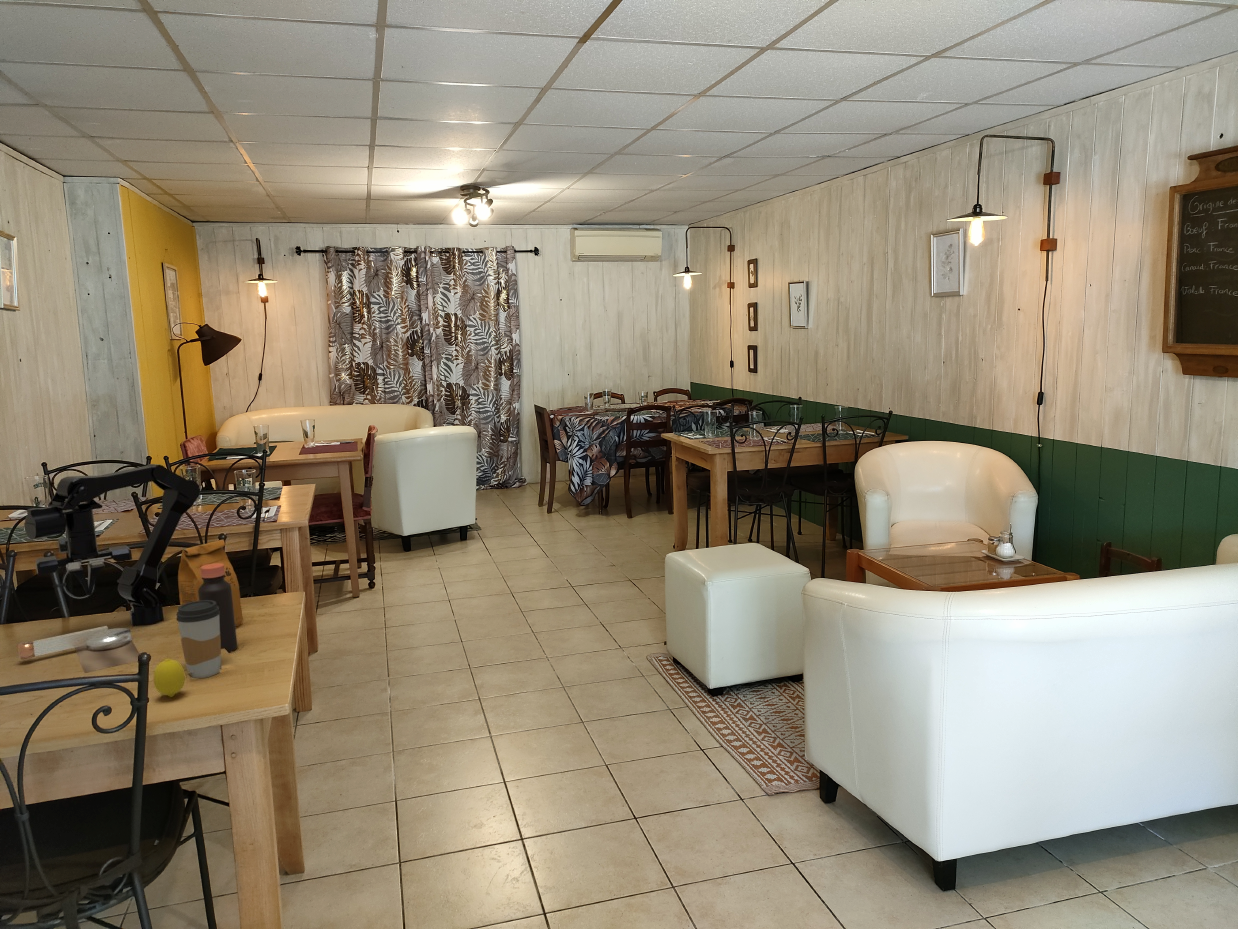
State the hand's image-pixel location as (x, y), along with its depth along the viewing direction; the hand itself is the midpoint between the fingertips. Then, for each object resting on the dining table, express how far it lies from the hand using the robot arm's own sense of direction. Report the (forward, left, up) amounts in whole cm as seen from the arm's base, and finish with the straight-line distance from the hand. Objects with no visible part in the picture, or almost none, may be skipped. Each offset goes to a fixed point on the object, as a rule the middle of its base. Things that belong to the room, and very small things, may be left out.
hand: (89, 594), depth 199 cm
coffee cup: (-16, +38, -12) cm, 43 cm away
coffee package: (-24, +10, -12) cm, 29 cm away
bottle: (-22, +26, -12) cm, 36 cm away
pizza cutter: (+4, +8, -10) cm, 14 cm away
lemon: (-8, +47, -12) cm, 49 cm away
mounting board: (-1, +12, -12) cm, 17 cm away
